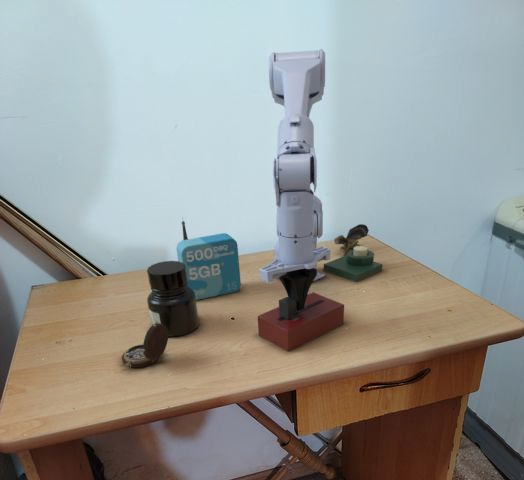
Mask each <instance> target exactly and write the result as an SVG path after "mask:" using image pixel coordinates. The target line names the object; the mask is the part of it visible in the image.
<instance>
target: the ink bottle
mask: <svg viewBox="0 0 524 480" xmlns="http://www.w3.org/2000/svg"><path fill="white" fill-rule="evenodd" d="M146 273H147V278H148V283H149V286H150V290H151V292H150V293H149V294H148V296H147V298H146V301H147V302H146V303H147V308H148V314H149V318H150V324H151V325H152V324H155V323H160V324H163V325H165V326H166V328H167V331H168V337H177V336H178V337H179V336H183V335H187V334H190V333H192V332H193V331H195V330H196V329H197V327H198V326H199V322H200V319H199V312H198V305H197V300H196V297H195V293H194V291H193V290H192V289H191V288H190V287H188V286H187V284H188V282H187V274H186V267H185V264H184V263H182V262H179V261H178V260H167V261H166V260H165V261H164V260H163V261H160V262H156V263H154V264H151V265H150V266H148V267H147V269H146Z"/></svg>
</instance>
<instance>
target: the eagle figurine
mask: <svg viewBox="0 0 524 480" xmlns="http://www.w3.org/2000/svg"><path fill="white" fill-rule="evenodd" d="M369 231H370V230H369V227H368V226H367V225H366V224H363V223H360V224H359V223H358V224H357V225H356V226H354V227H351V228H349V230H348V232H347V235H346V237H345V236H344V235H343V234H339V235H337V236H336V237H334V239H333V242H334V244H335V245H343V246H340V249H342V250H344V253H343V256H346V255H347V253H348V252H349V251H351V249H352V250H354V247H356V246H361V244H358V243H359V242H360V241H359V240H361V239H363V238H366V237H367V236H368V234H369Z"/></svg>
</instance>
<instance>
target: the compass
mask: <svg viewBox="0 0 524 480" xmlns="http://www.w3.org/2000/svg"><path fill="white" fill-rule="evenodd" d="M168 340H169V336H168V331H167V328H166V326H165V325H163V324H160V323H155V324H152V323H151V325H150V327H149V328H148V330H147V331H146V334H145V336H144V339H143V344H136V345H134V346H131V347H130V348H128V349H126V351H125V352H123V354H122V355H121V360H122V363H123V364H121V365H120V366H119V369H120V370H122V371H127V370H130V369H131V368H143V367H147V366H149V365H151V364H153V363H154V362H156V361H157V360H158V359H159V358H161V356H162V355H163V354H164V353H165V350H166V348H167V345H168ZM123 366H126V367H128V368H122V367H123Z"/></svg>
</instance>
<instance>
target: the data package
mask: <svg viewBox="0 0 524 480" xmlns="http://www.w3.org/2000/svg"><path fill="white" fill-rule="evenodd" d="M176 255H177V261H179V262H182V263H184V264H185V267H186V274H187V282H188V284H187V286H188V287H190V288H191V289H192V290H193V291H194V293H195V297H196V301H199V300H204V299H209V298H213V297H217V296H218V297H219V296H222V295H227V294H231V293H235V292H236V293H237V291H239V290H240V288H241V284H242V283H241V269H240V259H239V257H240V256H239V247H238V242H237V241H236V240H235V238H233V237H232V236H231V235H230V234H228V233H226V232H223V233H215V234H211V235H205V236H200V237H199V236H198V237H194V238H188V239H187V240H183V239H182V240H179V242H177V244H176Z"/></svg>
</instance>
